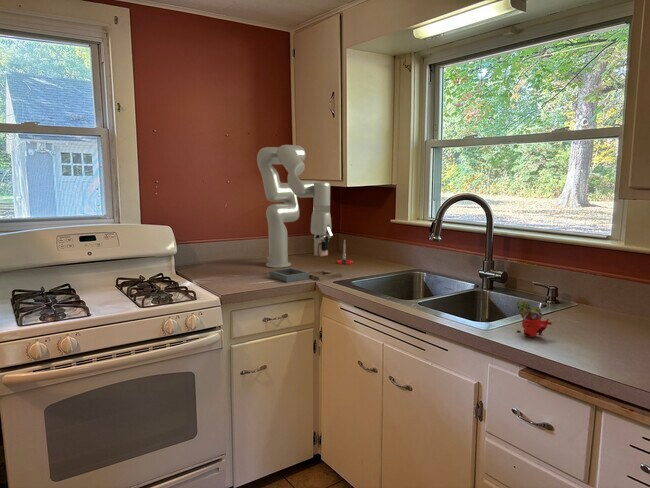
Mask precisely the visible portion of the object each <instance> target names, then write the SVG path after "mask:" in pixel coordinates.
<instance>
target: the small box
mask: <svg viewBox="0 0 650 488" xmlns="http://www.w3.org/2000/svg"><path fill="white" fill-rule="evenodd" d="M313 241H314V242H313V243H314V244H313V249H314V251H313V255H314V256H316V257H325V256H328V255H329V249H328V250H325V251H322V242H323V239H322V237H320V238H315V239H314V238H313Z"/></svg>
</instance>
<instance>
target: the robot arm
mask: <svg viewBox="0 0 650 488" xmlns="http://www.w3.org/2000/svg"><path fill="white" fill-rule="evenodd" d="M306 155H307V154H306V150H305V148H304V147H303V146H301V145H298V144H296V145H295V144H282V145H280V146H278V147H277V146H266V147H262V148H261V149H260V150H259V151H258V152H257V156H256V163H257V166H258V170H259V172H260V175H261V178H262V179H261V180H262V184H263V188H264V195H265V198H266V200H267V201H269V202H272V203H273V202H274V203H273V204H270V205H269V206H267V208H266V212H265V215H266V221H267V227H268V256H267V257H266V259H267V260H268V262H266V263H265V266H266V267H267V268H276V269H278V268H279V269H280V268H281V269H282V268H287V267H288V268H289V267H290V266H292V263H291V262H289V261H288V259H289V256H288V253H289V251H288V250H289V249H288V246H289V245H288V242H289V241H288V230H287V227H286V225H285V224H284V223H292V222H296V221H297V220H298V219H299V218H300V207H299V202H298V198H299V199H301V198H313V200H312V201H313V207H312V208H313V210H312V213H311V218H310V233H311V235H312V237H313V240H314V239H315V238H322V239H323V242H322V251H325V250H328V251H329V242H330V239H331V238H332V237H333V233H332V217H331V183H330V182H329V181H328V182H327V181H319V180H301V179H300V178H299V176H300V175H301V174H303V172H304V171H305V169H306V168H305V167H306V166H305V165H306V164H305V163H304V161H305V159H306ZM273 165H282V166H283V167H284V169H285V170H286V172H287V173H288V174H287V182H281V180H280V174H279V171H277V169H276V168H275V166H273ZM279 202H280V203H279ZM281 202H283V203H281Z"/></svg>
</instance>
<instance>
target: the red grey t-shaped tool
mask: <svg viewBox="0 0 650 488" xmlns="http://www.w3.org/2000/svg"><path fill="white" fill-rule="evenodd" d="M342 245H343V246H342V247H343V249H342V250H343V251H342V259H340V260H337V261H336V263H337V265H351V264H353V263H354V261H353V260H347V254H346V249H347V248H346V239H343V244H342Z"/></svg>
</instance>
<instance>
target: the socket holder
mask: <svg viewBox="0 0 650 488" xmlns="http://www.w3.org/2000/svg"><path fill="white" fill-rule="evenodd" d="M308 272H309V279H311V280H314V281H317V282H318V281H319V282H320V281H325V280H332V279H338V278H342V277H343V274H342V273H341V272H336V271H332V270H328V269H319V270H313V271H308Z"/></svg>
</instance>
